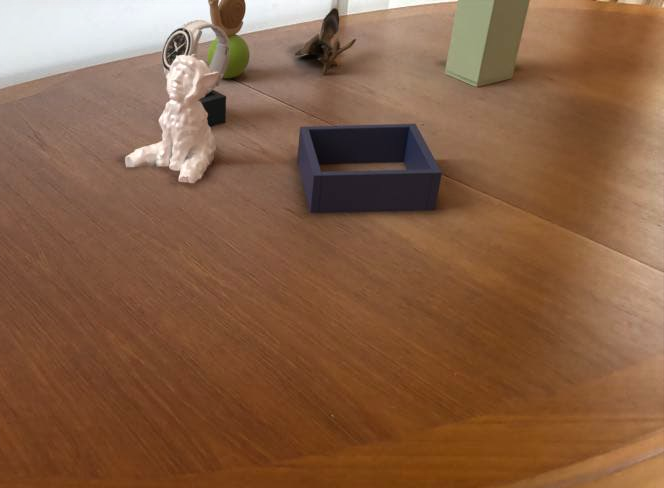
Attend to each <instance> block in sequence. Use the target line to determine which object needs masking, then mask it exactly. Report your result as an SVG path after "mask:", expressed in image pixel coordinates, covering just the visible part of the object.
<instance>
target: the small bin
mask: <svg viewBox="0 0 664 488" xmlns="http://www.w3.org/2000/svg"><path fill="white" fill-rule="evenodd" d="M530 1H531V0H457V2H456V8H455V14H454V19H453V25H452V30H451V35H450V41H449V45H448V46H449V47H448V51H447V57H446V64H445V68H444V74H445V75H447V76H449V77H451V78H454V79H456V80H458V81H461V82H463V83H466V84H468V85H470V86H472V87H475V88H479V87H482V86H487V85H490V84H495V83H498V82H502V81H507V80H510V79H513V76H514V71H515V67H516V63H517V58H518V54H519V50H520V45H521V42H522V41H521V40H522V37H523V32H524V28H525V23H526V20H527V16H528V11H529V6H530Z"/></svg>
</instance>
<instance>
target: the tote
mask: <svg viewBox="0 0 664 488" xmlns="http://www.w3.org/2000/svg"><path fill="white" fill-rule="evenodd" d="M298 135H299V136H298V147H297V158H296V164H297V167H298V170H299V174H300V178H301V184H302V186H303V190H304V195H305V198H306V202H307V207H308V210H309V213H311V214H316V213H317V214H318V213H326V214H327V213H363V212H364V213H367V212H369V213H372V212H375V213H376V212H417V211H418V212H419V211H420V212H421V211H436V205H437V200H438V196H439V190H440V186H441V180H442V176H443V175H442V174H443V172H442V170H441V168H440V166H439V164H438V162H437V161H436V159H435V157H434V155H433V153H432V151H431V149H430V148H429V145H428V144H427V142H426V140H425V138H424V137H423V134H422V133H421V130H420V129H419V127H418V125H417V124H416V123H388V124H387V123H386V124H352V125H351V124H349V125H313V126H311V125H310V126H300V127H299V134H298ZM382 163H403V164H404V166H405V168H406V169H385V170H384V169H383V170H382V169H381V170H379V169H378V170H342V171H341V170H339V171H338V170H337V171H335V170H334V171H333V170H332V171H322V170H321V167H320V165H338V164H340V165H341V164H343V165H344V164H382Z"/></svg>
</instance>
